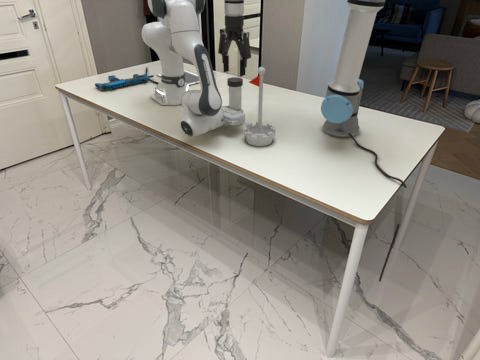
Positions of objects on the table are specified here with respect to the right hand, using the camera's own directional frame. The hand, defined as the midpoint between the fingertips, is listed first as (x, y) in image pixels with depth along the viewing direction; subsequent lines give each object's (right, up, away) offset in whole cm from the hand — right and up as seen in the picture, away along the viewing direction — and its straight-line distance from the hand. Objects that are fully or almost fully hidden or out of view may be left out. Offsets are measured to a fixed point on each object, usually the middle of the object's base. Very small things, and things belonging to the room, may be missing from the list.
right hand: (234, 73), depth 145 cm
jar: (0, -19, +12) cm, 23 cm away
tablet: (-34, +20, +72) cm, 83 cm away
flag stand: (+11, -29, -3) cm, 31 cm away
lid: (0, -3, +1) cm, 3 cm away
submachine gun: (-69, +14, +64) cm, 95 cm away
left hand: (+1, -13, +9) cm, 16 cm away
